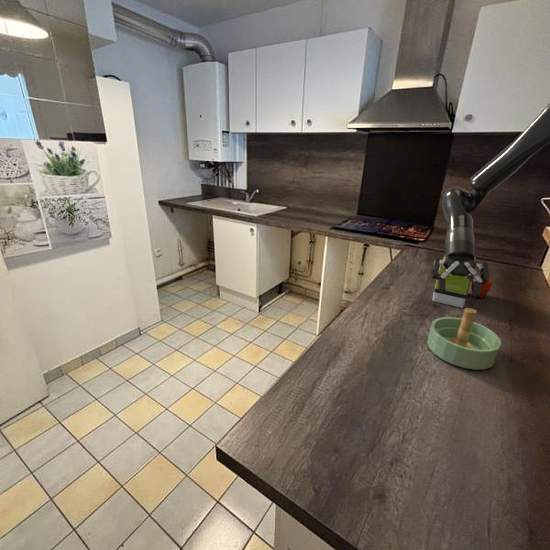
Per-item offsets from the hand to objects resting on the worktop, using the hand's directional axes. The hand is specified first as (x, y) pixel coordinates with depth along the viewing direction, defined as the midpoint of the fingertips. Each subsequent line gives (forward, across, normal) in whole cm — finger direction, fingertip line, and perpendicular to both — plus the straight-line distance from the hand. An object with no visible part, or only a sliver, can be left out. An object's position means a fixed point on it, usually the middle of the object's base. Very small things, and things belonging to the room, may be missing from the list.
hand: (459, 294), depth 84 cm
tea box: (-8, +4, +25) cm, 27 cm away
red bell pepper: (-12, +15, +29) cm, 34 cm away
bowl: (+16, 0, 0) cm, 17 cm away
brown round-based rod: (+16, 0, 0) cm, 16 cm away
